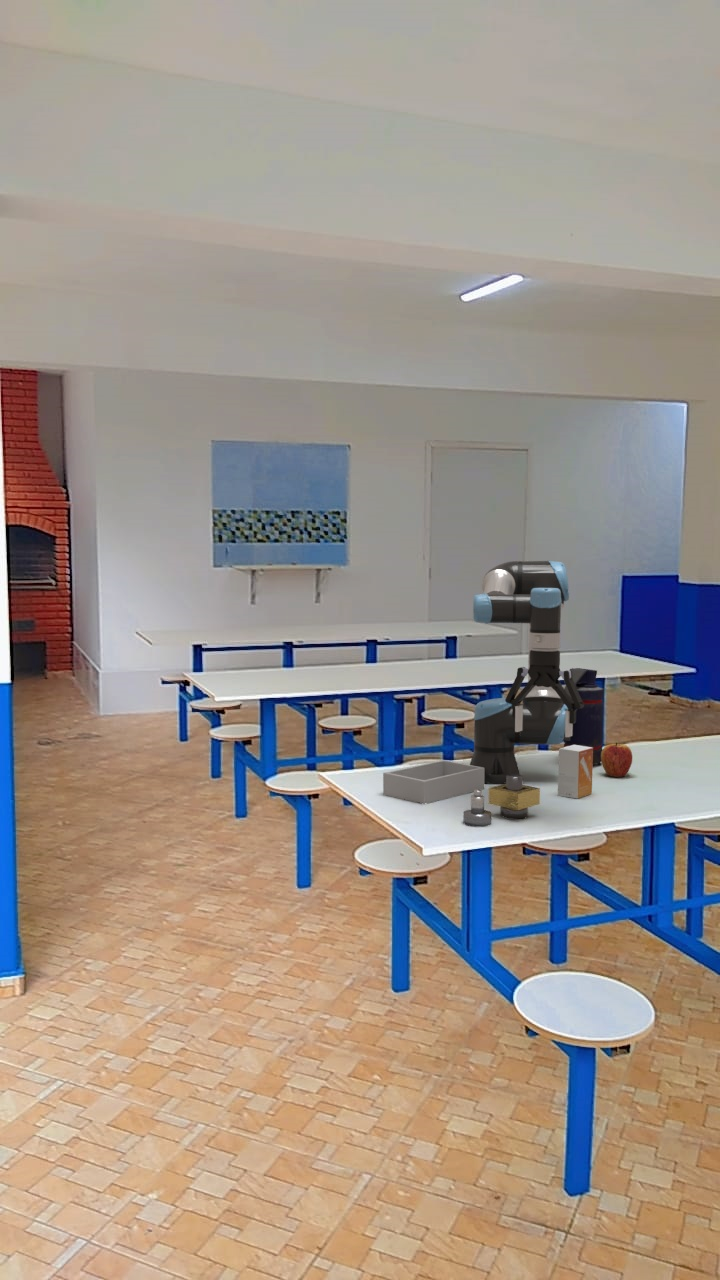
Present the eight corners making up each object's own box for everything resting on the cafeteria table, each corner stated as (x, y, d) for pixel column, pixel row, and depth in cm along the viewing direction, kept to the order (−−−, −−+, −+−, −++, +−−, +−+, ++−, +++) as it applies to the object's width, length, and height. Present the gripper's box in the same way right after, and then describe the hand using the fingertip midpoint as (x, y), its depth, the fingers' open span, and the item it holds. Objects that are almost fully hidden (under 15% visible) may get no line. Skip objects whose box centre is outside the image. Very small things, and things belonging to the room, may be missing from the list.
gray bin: (383, 794, 274) (383, 772, 274) (443, 780, 292) (443, 759, 291) (424, 804, 263) (424, 781, 263) (484, 788, 281) (484, 767, 280)
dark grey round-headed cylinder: (494, 815, 252) (495, 776, 251) (511, 810, 257) (511, 772, 256) (516, 820, 247) (517, 780, 246) (533, 815, 252) (533, 776, 251)
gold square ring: (488, 803, 252) (488, 788, 251) (510, 797, 258) (510, 782, 258) (517, 810, 245) (518, 794, 245) (539, 803, 252) (539, 788, 251)
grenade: (582, 758, 324) (584, 665, 321) (610, 764, 314) (612, 669, 311) (550, 763, 316) (552, 668, 314) (578, 769, 306) (580, 672, 304)
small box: (578, 799, 269) (579, 751, 268) (557, 795, 273) (558, 748, 272) (592, 794, 275) (593, 747, 274) (572, 790, 279) (572, 744, 278)
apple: (602, 778, 294) (603, 745, 293) (598, 772, 303) (599, 739, 302) (634, 779, 293) (635, 745, 292) (629, 773, 302) (630, 740, 301)
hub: (457, 822, 245) (457, 790, 244) (475, 817, 250) (475, 786, 249) (479, 828, 240) (479, 795, 240) (497, 822, 245) (497, 790, 244)
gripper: (493, 648, 255) (491, 730, 257) (586, 653, 241) (584, 740, 243) (506, 646, 261) (505, 727, 263) (598, 651, 247) (596, 736, 249)
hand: (543, 733), depth 253 cm, fingers open, 13 cm apart
